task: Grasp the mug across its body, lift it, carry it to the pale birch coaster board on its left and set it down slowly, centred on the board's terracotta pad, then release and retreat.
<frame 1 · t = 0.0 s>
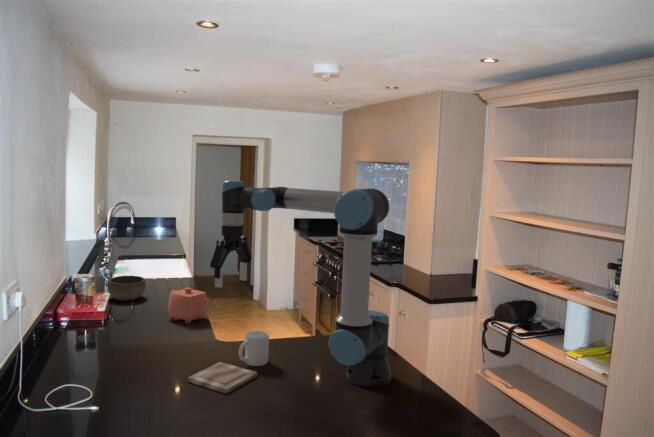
hand: (231, 283, 188), 28 cm above the worktop, fingers open, 13 cm apart
board: (222, 378, 174), on the worktop
teapot: (188, 319, 236), on the worktop
mug: (252, 364, 188), on the worktop
bowl: (126, 299, 265), on the worktop
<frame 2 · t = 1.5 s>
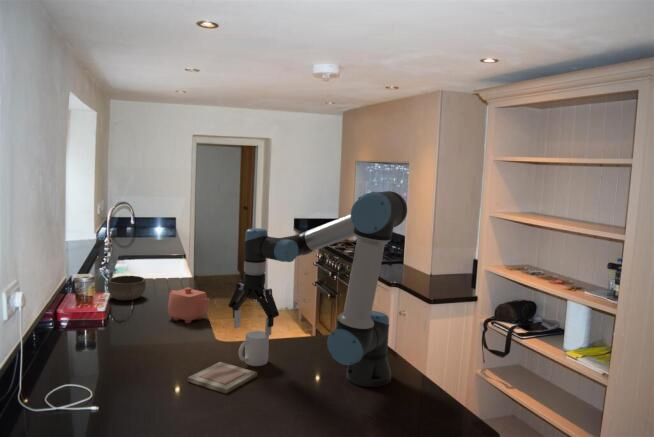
hand: (252, 331, 187), 12 cm above the worktop, fingers open, 13 cm apart
nothing on the worktop moved.
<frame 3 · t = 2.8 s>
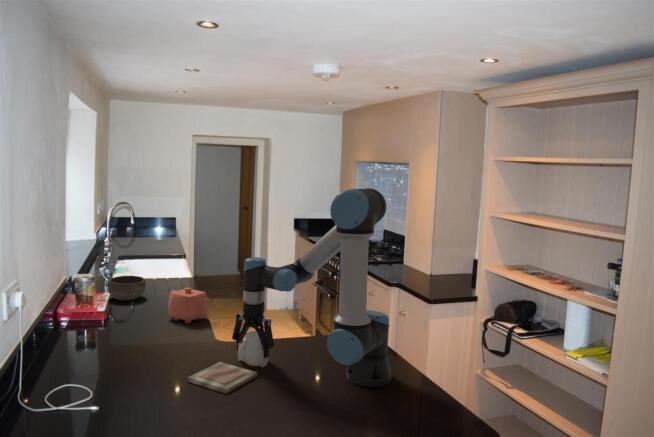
hand: (252, 362, 188), 0 cm above the worktop, fingers open, 9 cm apart
mug: (252, 364, 188), on the worktop, touching gripper
everything else where it was.
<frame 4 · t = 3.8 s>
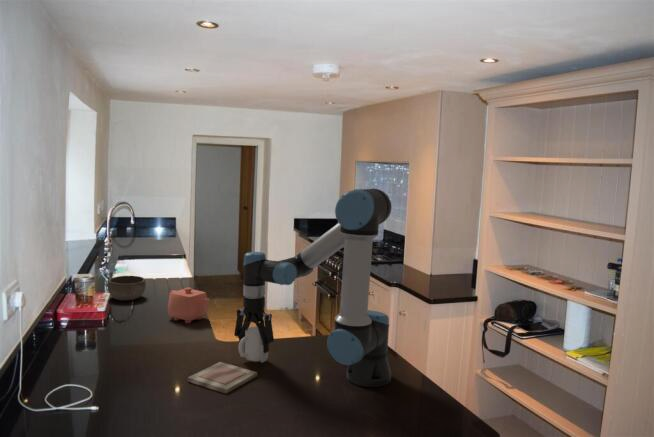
hand: (253, 358, 188), 2 cm above the worktop, fingers closed on mug, 8 cm apart
mug: (252, 359, 188), point 1 cm above the worktop, touching gripper
everything else where it was.
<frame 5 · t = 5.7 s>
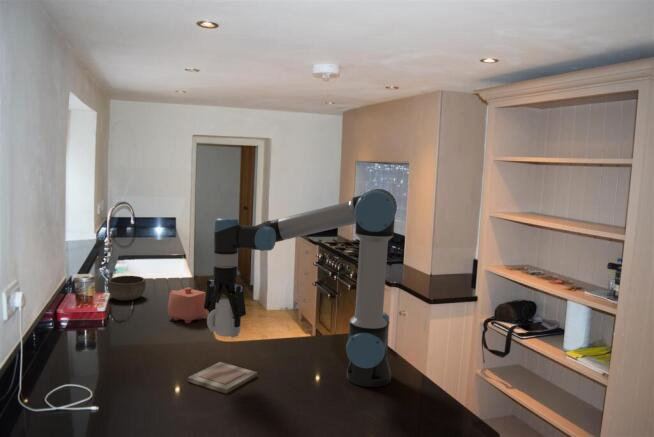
hand: (224, 333, 173), 15 cm above the worktop, fingers closed on mug, 8 cm apart
mug: (222, 334, 173), point 15 cm above the worktop, touching gripper
everything else where it was.
when the fingers open (2 cm above the worktop, at t = 7.9 s): mug stays where it is, resting on board.
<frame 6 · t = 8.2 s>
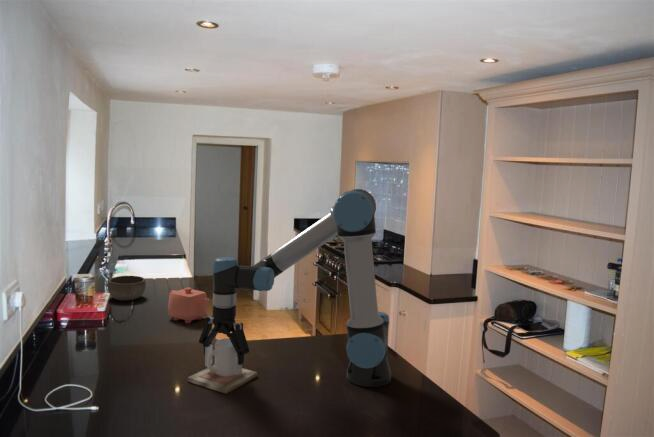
hand: (223, 369, 174), 3 cm above the worktop, fingers open, 12 cm apart
mug: (222, 374, 174), point 1 cm above the worktop, touching board
everything else where it was.
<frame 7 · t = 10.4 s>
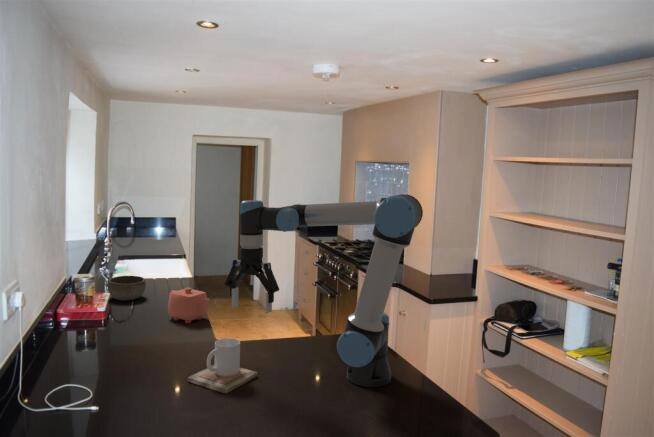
hand: (251, 309, 177), 22 cm above the worktop, fingers open, 13 cm apart
nothing on the worktop moved.
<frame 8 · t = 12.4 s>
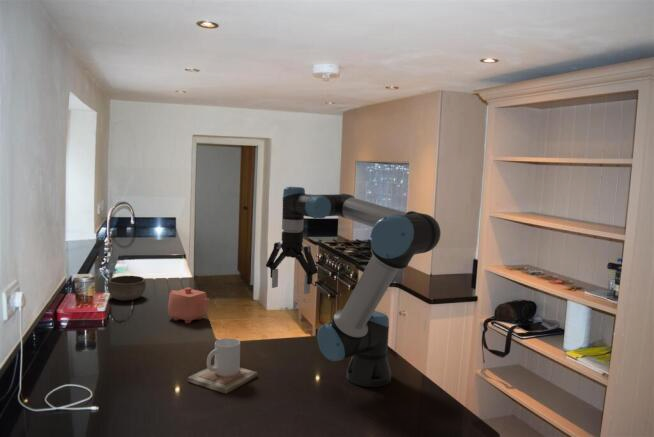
hand: (290, 290, 188), 27 cm above the worktop, fingers open, 13 cm apart
nothing on the worktop moved.
at the end: mug 0.4 cm from the board (horizontally); mug tilted 0°; the gripper is holding nothing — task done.
